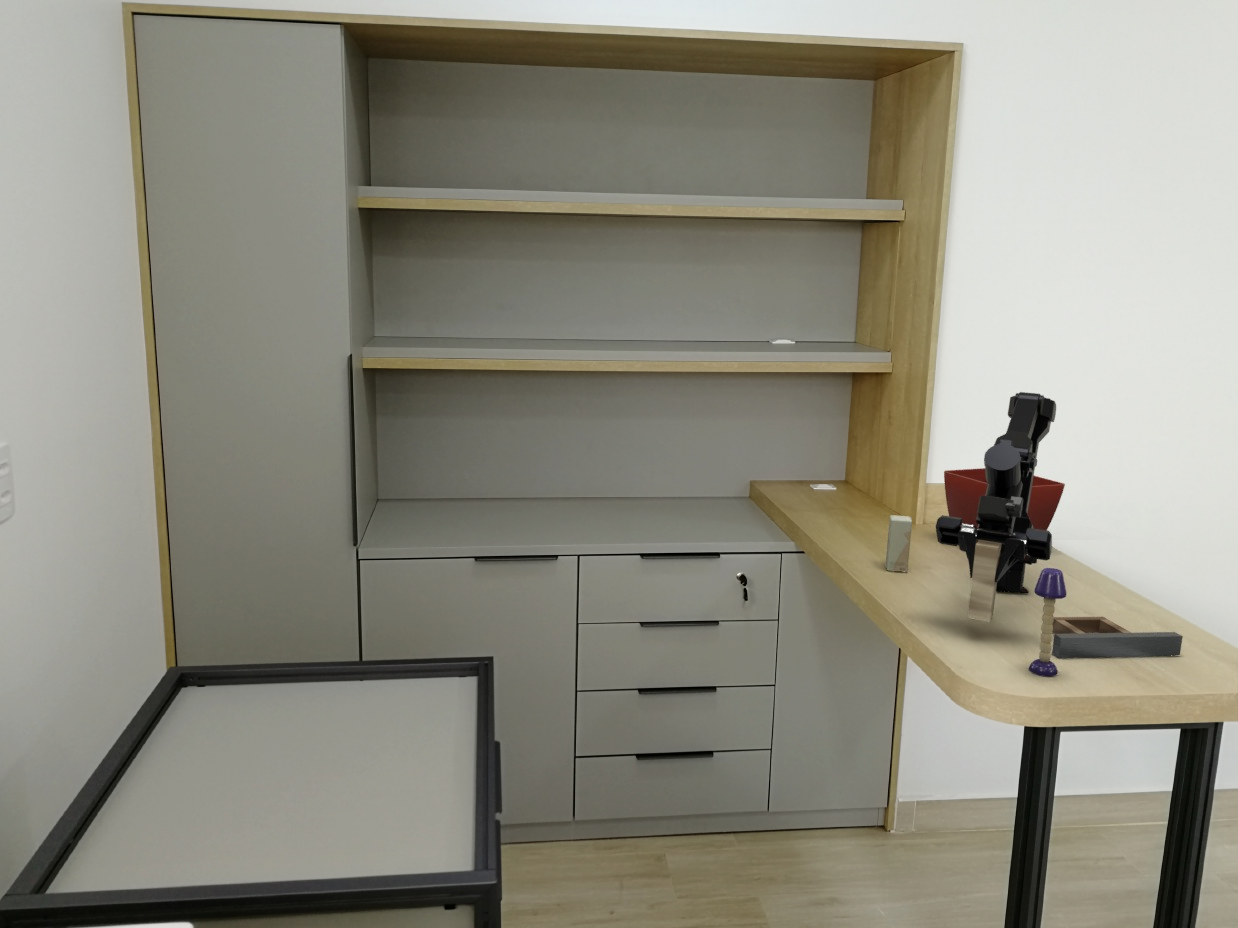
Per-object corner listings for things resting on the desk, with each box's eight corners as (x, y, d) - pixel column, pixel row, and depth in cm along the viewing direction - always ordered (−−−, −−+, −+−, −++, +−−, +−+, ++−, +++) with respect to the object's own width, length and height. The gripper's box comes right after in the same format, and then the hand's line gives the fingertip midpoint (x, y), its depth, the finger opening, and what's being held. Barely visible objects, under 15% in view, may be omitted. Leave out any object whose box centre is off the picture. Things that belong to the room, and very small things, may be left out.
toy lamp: (1024, 672, 162) (1036, 571, 159) (1025, 663, 166) (1037, 563, 163) (1057, 678, 160) (1070, 576, 157) (1057, 668, 165) (1070, 568, 161)
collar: (1049, 630, 182) (1051, 617, 182) (1101, 629, 184) (1102, 616, 183) (1082, 651, 173) (1084, 637, 172) (1136, 650, 174) (1138, 636, 174)
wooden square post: (971, 611, 179) (979, 539, 177) (993, 615, 177) (1001, 543, 175) (967, 617, 176) (975, 544, 173) (989, 621, 174) (998, 547, 172)
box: (907, 573, 214) (912, 521, 212) (886, 571, 215) (891, 519, 213) (905, 566, 219) (910, 515, 217) (885, 564, 220) (889, 514, 218)
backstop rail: (1051, 653, 171) (1054, 633, 170) (1171, 651, 174) (1174, 631, 174) (1058, 658, 169) (1061, 638, 168) (1179, 655, 172) (1182, 636, 172)
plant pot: (1058, 555, 233) (1067, 483, 230) (996, 563, 224) (1005, 488, 221) (994, 534, 250) (1002, 466, 246) (934, 541, 241) (941, 470, 238)
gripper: (943, 470, 180) (923, 545, 172) (1058, 484, 171) (1042, 564, 164) (947, 505, 188) (929, 578, 181) (1057, 521, 180) (1042, 598, 172)
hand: (983, 579), depth 174 cm, fingers closed on wooden square post, 4 cm apart
